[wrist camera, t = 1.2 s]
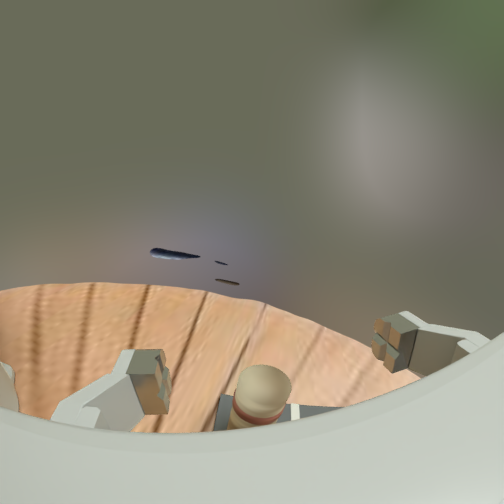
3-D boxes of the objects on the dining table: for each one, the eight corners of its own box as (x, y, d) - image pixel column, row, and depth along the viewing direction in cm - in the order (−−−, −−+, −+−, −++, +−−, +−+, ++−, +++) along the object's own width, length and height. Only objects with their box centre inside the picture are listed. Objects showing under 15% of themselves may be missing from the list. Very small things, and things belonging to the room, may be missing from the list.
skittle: (221, 453, 25) (234, 400, 21) (226, 420, 30) (240, 360, 26) (264, 459, 25) (293, 408, 21) (266, 426, 30) (291, 367, 26)
